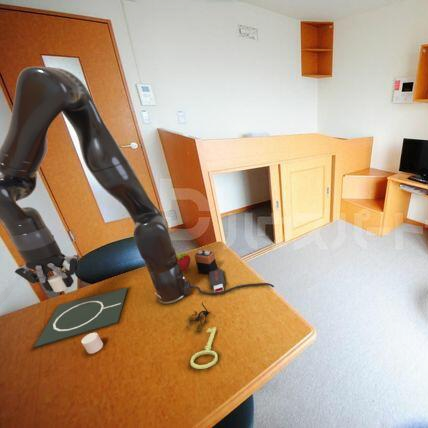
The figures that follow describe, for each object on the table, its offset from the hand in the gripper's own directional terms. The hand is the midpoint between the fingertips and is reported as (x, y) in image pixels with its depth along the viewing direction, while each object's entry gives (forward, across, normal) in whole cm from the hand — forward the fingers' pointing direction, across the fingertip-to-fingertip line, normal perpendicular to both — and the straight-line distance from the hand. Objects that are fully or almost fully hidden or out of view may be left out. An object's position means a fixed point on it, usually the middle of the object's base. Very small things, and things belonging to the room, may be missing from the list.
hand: (61, 287), depth 77 cm
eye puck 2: (+12, +9, -19) cm, 24 cm away
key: (+12, +39, -35) cm, 54 cm away
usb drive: (+12, +45, -5) cm, 47 cm away
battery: (+12, +42, +5) cm, 44 cm away
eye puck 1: (0, 0, 0) cm, 0 cm away
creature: (+12, +37, -23) cm, 45 cm away
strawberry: (+12, +33, +9) cm, 37 cm away
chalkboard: (+12, +3, -2) cm, 13 cm away
